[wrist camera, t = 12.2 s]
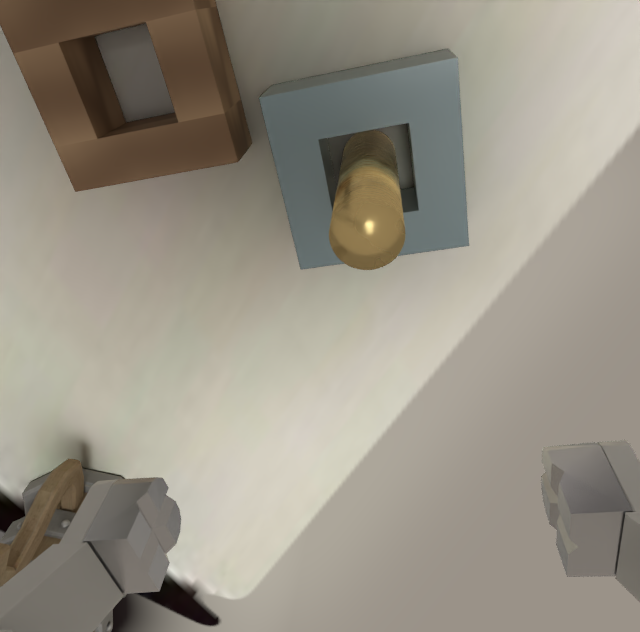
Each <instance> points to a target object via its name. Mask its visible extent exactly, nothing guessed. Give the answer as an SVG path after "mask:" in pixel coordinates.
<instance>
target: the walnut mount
mask: <svg viewBox="0 0 640 632" xmlns="http://www.w3.org/2000/svg"><path fill="white" fill-rule="evenodd" d="M142 24H147V27H148V30H149V33H150V36H151V39H152V42H153V45H154V49H155V52H156V55H157V58H158V61H159V64H160V67H161V70H162V73H163V76H164V79H165V82H166V86H167V89H168V92H169V95H170V98H171V101H172V104H173V107H174V110H175V113H171V114H166V115H161V116H156V117H151V118H146V119H141V120H136V121H131V122H127V123H126V121H125V118H124V116H123V113H122V110H121V107H120V105H119V102H118V99H117V97H116V94H115V91H114V89H113V86H112V83H111V81H110V78H109V75H108V73H107V70H106V67H105V65H104V62H103V59H102V57H101V54H100V51H99V49H98V46H97V43H96V40H95V38H94V36H96V35H100V34H104V33H108V32H113V31H117V30H121V29H125V28H129V27H133V26H138V25H142ZM0 25H1V27H2V30H3V32H4V34H5V36H6V39H7V41H8V43H9V45H10V47H11V50H12V52H13V54H14V56H15V59H16V61H17V63H18V65H19V67H20V70H21V72H22V74H23V76H24V79H25V81H26V83H27V85H28V87H29V90H30V92H31V94H32V96H33V99H34V101H35V103H36V105H37V107H38V110H39V112H40V114H41V116H42V119H43V121H44V123H45V125H46V127H47V130H48V132H49V134H50V136H51V139H52V141H53V143H54V145H55V147H56V150H57V152H58V154H59V156H60V159H61V161H62V163H63V165H64V168H65V170H66V172H67V174H68V176H69V179H70V181H71V183H72V185H73V188H74V190H75V192H77V191H82V190H88V189H93V188H99V187H104V186H110V185H115V184H121V183H126V182H132V181H137V180H143V179H148V178H154V177H159V176H165V175H170V174H176V173H181V172H187V171H192V170H198V169H203V168H209V167H214V166H220V165H225V164H230V163H236V162H239V160H240V159H241V158H242V156H243V155H244V154H245V152H246V151H247V150H248V148H249V147H250V146H251V145H252V141H251V137H250V133H249V129H248V125H247V121H246V117H245V114H244V110H243V106H242V102H241V98H240V94H239V91H238V87H237V83H236V79H235V75H234V71H233V68H232V64H231V60H230V56H229V52H228V48H227V45H226V41H225V37H224V33H223V29H222V25H221V21H220V18H219V14H218V10H217V6H216V2H215V0H0Z"/></svg>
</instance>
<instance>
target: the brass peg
mask: <svg viewBox="0 0 640 632" xmlns="http://www.w3.org/2000/svg"><path fill="white" fill-rule="evenodd" d="M329 241H330V245H331V248H332V250H333V252H334V253H335V255H336V256H337V257H338V258H339V259H340V260H341V261H342V262H344V263H345V264H347V265H348V266H351V267H353V268H356V269H361V270H372V269H377V268H380V267H383V266H385V265H387V264H389V263H390V262H392V261H393V260H394V259H395V258H396V257H397V256H398V254H399V253H400V252H401V250H402V248H403V245H404V242H405V224H404V216H403V208H402V200H401V192H400V184H399V176H398V168H397V160H396V152H395V148H394V145H393V143H392V141H391V140H390V139H389V137H388V136H386V135H385V134H384V133H382V132H380V131H377V130H368V131H362V132H358V133H356V134H355V135H353V136H352V137H351V138H350V139H349V141H348V142H347V144H346V146H345V148H344V152H343V157H342V163H341V168H340V174H339V179H338V185H337V190H336V195H335V201H334V206H333V212H332V217H331V223H330V228H329Z"/></svg>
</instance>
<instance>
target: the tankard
mask: <svg viewBox="0 0 640 632" xmlns="http://www.w3.org/2000/svg"><path fill="white" fill-rule="evenodd" d="M118 479H123V478H122V477H121V476H116V475H112V474H107V473H102V472H98V471H93V470H88V469H84V468H82V466H81V463H80V461H79V460H74V459H68V460H66V461H65V462H63V463H62V464H61V465H59V466H58V467H57V468H55V469H54V470H53V471H52V472H51V473H49V474H47V475H44V476H42V477H40V478H38V479H36V480H34V481H32V482H30V483H29V485H28V486H27V487H26V489H25V490H24V492H23V500H24V507H25V514H26V516H25V517H23V518H21V519H19V520H17V521H14V522H12V524H11V525H10V527H9V528H8V530H7V531H6V533H5V534H4V536H3V537H2V539H1V540H0V587H1V586H3V585H4V584H5V583H6V582H8V581H9V580H10V579H11V578H12V577H14V576H15V575H16V574H17V573H19V572H20V571H21V570H22V569H23V568H25V567H26V566H27V565H28V564H30V563H31V562H32V561H33V560H34V559H36V558H37V557H38V556H39V555H41V554H42V553H43V552H44V551H45V550H47V549H48V548H49V547H50V546H52V545H53V544H59V543H60V541H61V540H62V538H63V536H64V534H65V532H66V531H67V529H68V527H69V525H70V524H71V522H72V520H73V518H74V516H75V515H76V513H77V511H78V509H79V508H80V506H81V504H82V502H83V500H84V499H85V497H86V495H87V493H88V492H89V490H90V488H91V486H92V485H93V484H95V483H96V482H97V481H103V480H118ZM125 596H126V594H123V597H125ZM123 597H122V598H123ZM112 628H113V609H112V610H111V611H110V612H109V614H108V615H107V616H106V617H105V618H104V619H103V621H102V622H101V623H100V624H99V625H98V626H97V628H96V629H95V630H94V631H93V632H111V630H112Z"/></svg>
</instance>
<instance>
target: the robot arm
mask: <svg viewBox="0 0 640 632" xmlns="http://www.w3.org/2000/svg"><path fill="white" fill-rule="evenodd" d="M542 463H543V466H544V469H545V473H544V474H543V475H542V476H541V481H542V482H541V486H542V495H543V502H544V506H545V510H546V514H547V517H548V520H549V524H550V525H551V526H553V527H554V528H555V529H556V530H557V539H556V545H557V548H558V551H559V554H560V557H561V560H562V563H563V566H564V569H565V572H566V575H567V577H568V576H569V577H572V576H573V577H577V576H578V577H580V576H616V579H617V580H618V581H619V582H620V583H621V584H622V585H623V586H624V587H625V588H626V589H627V590H628V591H629V592H630V593H631V594H632V595H633V596H634V597H635V598H636V599H637V600H638V601H639V602H640V461H639V459H638V457H637V455H636V454H635V452H634V450H633V448H632V447H631V445H630V444H629V443H628V442H627V441H626V440H620V441H608V442H598V443H595V442H594V443H582V444H572V445H560V446H549V447H543V450H542ZM167 490H168V486H167V484H166V483H165V481H164V479H163V478H157V477H156V478H136V479H118V480H103V481H97V482H96V483H95V484H93V485H92V486H91V488H90V490H89V492H88V493H87V495H86V497H85V499H84V500H83V502H82V504H81V506H80V508H79V509H78V511H77V513H76V515H75V516H74V518H73V520H72V522H71V524H70V525H69V527H68V529H67V531H66V532H65V534H64V536H63V538H62V540H61V541H60V543H59V544H53V545H52V546H50V547H49V548H48V549H47V550H45V551H44V552H43V553H42V554H41V555H39V556H38V557H37V558H36V559H34V560H33V561H32V562H31V563H30V564H28V565H27V566H26V567H25V568H23V569H22V570H21V571H20V572H19V573H17V574H16V575H15V576H14V577H12V578H11V579H10V580H9V581H8V582H6V583H5V584H4V585H3V586H1V587H0V632H93V631H94V630H95V629H96V628H97V626H98V625H99V624H100V623H101V622H102V621H103V619H104V618H105V617H106V616H107V615H108V614H109V612H110V611H111V610H112V609H113V608H114V606H115V605H116V604H117V603H118V602H119V601H120V600H121V598H122V597H123V594H127V593H142V592H157V591H160V588H161V585H162V582H163V579H164V577H165V574H166V571H167V568H168V565H169V560H168V557H167V554H166V553H167V552H168V551H169V550H170V549H171V548H172V547H173V546H174V545H175V544H176V542H177V539H178V536H179V533H180V524H181V516H180V511H179V508H178V506H177V504H176V501H174V500H173V499H171V498H170V497H168V496H167V495H166V493H167Z"/></svg>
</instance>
